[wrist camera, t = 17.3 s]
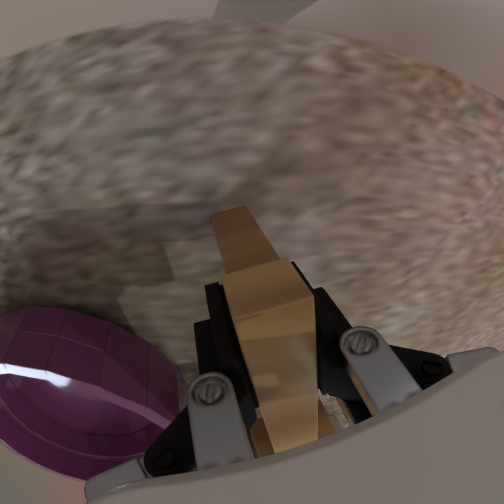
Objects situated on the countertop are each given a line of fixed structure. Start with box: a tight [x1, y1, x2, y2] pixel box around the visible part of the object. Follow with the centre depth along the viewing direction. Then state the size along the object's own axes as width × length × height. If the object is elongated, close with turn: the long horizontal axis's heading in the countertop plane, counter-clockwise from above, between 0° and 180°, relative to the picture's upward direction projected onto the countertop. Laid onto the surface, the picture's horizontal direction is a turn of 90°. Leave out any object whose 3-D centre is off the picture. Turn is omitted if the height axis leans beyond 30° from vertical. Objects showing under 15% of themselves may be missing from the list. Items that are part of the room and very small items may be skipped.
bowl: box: [0, 306, 188, 483], centre depth 15 cm, size 16×16×5 cm
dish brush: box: [211, 206, 336, 457], centre depth 14 cm, size 15×5×7 cm, turn 10°
